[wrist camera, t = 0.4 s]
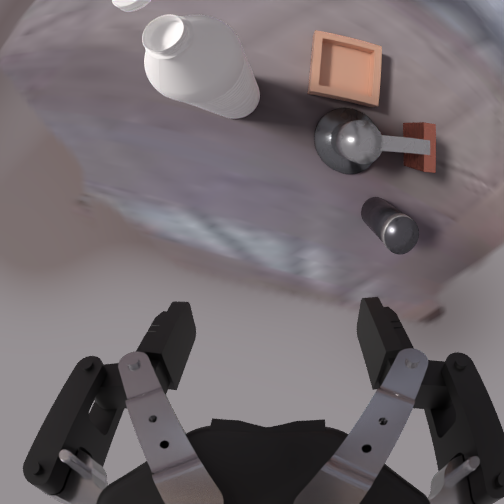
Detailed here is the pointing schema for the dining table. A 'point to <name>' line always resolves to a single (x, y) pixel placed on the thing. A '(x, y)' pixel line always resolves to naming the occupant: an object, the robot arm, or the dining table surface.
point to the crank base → (324, 140)
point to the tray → (345, 69)
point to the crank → (386, 143)
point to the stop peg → (390, 225)
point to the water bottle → (197, 62)
